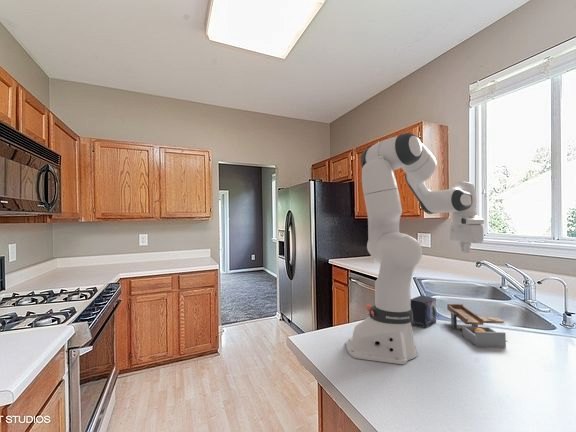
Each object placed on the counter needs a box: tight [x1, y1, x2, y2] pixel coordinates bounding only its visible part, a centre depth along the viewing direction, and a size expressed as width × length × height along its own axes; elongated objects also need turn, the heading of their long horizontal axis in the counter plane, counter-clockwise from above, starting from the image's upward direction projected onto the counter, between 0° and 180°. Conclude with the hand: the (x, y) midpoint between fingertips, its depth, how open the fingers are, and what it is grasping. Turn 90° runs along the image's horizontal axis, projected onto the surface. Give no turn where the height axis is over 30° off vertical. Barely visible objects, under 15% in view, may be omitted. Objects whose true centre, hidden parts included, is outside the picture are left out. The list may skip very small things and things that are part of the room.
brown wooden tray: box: [447, 303, 505, 326], centre depth 110 cm, size 14×15×2 cm
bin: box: [461, 326, 507, 349], centre depth 98 cm, size 9×9×5 cm
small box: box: [411, 294, 437, 329], centre depth 116 cm, size 11×6×10 cm, turn 130°
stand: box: [448, 312, 479, 331], centre depth 110 cm, size 10×4×6 cm, turn 84°
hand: (465, 252), depth 118 cm, fingers closed
